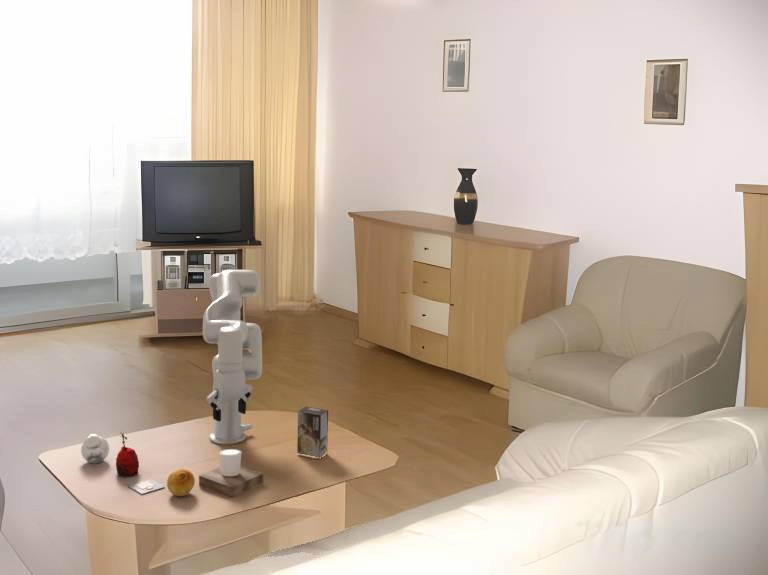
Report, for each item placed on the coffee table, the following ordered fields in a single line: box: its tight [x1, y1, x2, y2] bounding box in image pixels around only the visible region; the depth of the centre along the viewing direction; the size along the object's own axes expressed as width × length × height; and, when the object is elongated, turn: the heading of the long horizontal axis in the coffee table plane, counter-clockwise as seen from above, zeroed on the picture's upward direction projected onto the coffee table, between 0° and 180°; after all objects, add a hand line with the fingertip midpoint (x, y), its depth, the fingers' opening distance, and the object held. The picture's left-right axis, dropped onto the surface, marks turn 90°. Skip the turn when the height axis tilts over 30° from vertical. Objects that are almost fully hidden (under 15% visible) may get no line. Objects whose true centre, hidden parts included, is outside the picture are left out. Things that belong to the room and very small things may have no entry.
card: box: [127, 478, 165, 496], centre depth 273 cm, size 8×8×1 cm
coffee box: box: [296, 406, 329, 458], centre depth 304 cm, size 9×6×16 cm
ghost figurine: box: [80, 433, 110, 464], centre depth 290 cm, size 9×10×10 cm
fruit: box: [166, 468, 196, 497], centre depth 269 cm, size 8×8×8 cm
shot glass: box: [219, 448, 242, 476], centre depth 277 cm, size 7×7×7 cm
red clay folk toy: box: [115, 432, 140, 477], centre depth 281 cm, size 8×7×15 cm
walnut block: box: [198, 465, 264, 498], centre depth 278 cm, size 14×14×4 cm
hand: (229, 416), depth 282 cm, fingers open, 9 cm apart
